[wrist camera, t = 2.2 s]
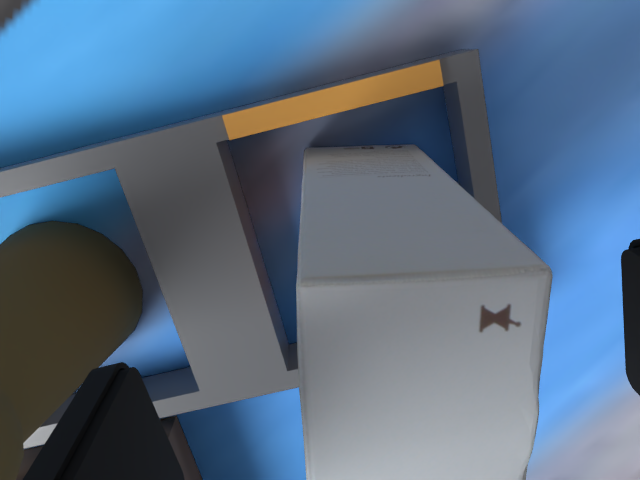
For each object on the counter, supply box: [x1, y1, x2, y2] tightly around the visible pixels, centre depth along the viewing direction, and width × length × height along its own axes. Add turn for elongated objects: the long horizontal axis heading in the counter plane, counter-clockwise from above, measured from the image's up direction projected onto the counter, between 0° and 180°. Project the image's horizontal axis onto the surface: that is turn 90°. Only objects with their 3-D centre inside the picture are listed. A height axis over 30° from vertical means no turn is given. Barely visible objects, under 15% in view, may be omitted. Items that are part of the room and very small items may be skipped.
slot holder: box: [0, 49, 502, 449], centre depth 20 cm, size 22×11×2 cm, turn 104°
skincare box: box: [296, 144, 552, 480], centre depth 15 cm, size 6×4×12 cm
